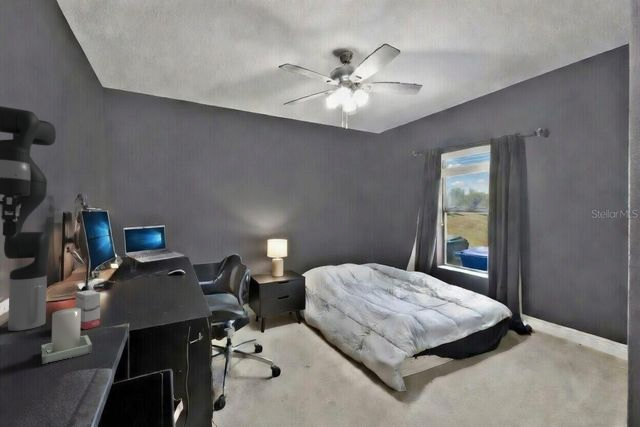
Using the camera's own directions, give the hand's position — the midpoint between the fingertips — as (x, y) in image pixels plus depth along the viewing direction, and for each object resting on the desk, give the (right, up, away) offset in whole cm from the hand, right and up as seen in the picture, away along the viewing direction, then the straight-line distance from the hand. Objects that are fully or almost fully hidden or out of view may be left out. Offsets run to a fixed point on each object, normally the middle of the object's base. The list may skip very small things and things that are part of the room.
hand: (9, 235), depth 80 cm
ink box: (+5, -34, +21) cm, 40 cm away
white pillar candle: (+16, -33, 0) cm, 36 cm away
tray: (+16, -33, 0) cm, 37 cm away
